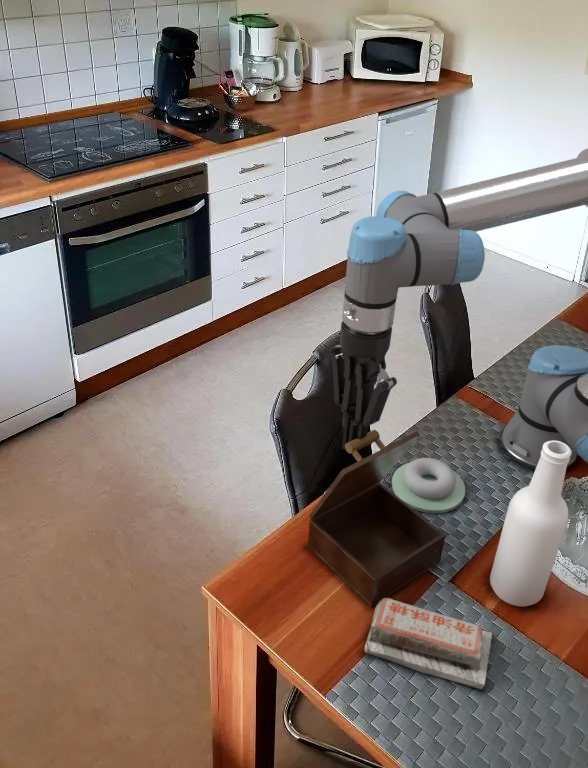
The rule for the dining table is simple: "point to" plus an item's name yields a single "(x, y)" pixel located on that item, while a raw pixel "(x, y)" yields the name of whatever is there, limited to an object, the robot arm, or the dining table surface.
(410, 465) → the donut
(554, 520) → the alcohol
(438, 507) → the saucer
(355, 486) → the lid
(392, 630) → the packaged product
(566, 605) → the dining table surface
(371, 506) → the wooden box
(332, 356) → the robot arm
